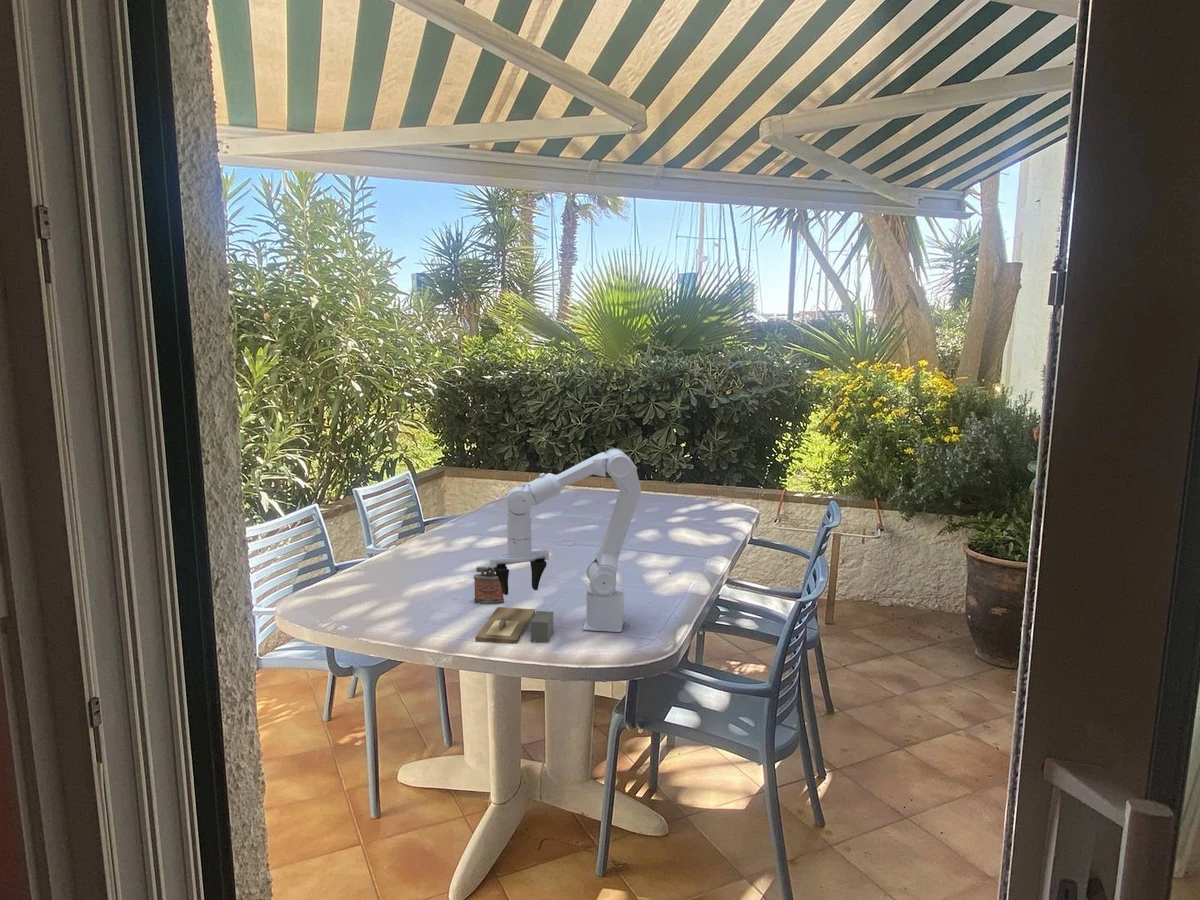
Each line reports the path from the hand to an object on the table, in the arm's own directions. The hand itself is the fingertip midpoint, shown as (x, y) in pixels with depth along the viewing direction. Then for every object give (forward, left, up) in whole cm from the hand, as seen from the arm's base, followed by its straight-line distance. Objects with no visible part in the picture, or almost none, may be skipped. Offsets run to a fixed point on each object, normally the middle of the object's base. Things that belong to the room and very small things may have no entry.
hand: (520, 591), depth 177 cm
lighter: (+13, -17, -10) cm, 23 cm away
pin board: (+4, -1, -10) cm, 10 cm away
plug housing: (-6, +4, -10) cm, 12 cm away
